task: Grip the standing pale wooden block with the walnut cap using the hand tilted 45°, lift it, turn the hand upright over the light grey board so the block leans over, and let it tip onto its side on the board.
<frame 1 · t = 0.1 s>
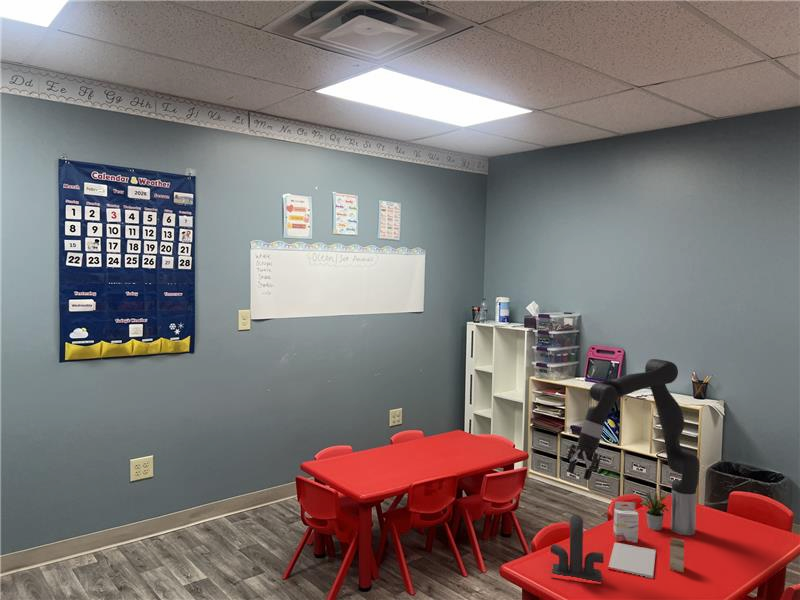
hand: (578, 475, 226), 31 cm above the table, tool tilted 20°, fingers open, 8 cm apart
wooden block: (676, 568, 219), on the table
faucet: (576, 571, 217), on the table
ink cartridge box: (625, 540, 243), on the table
house plant: (651, 528, 254), on the table
grey board: (632, 560, 225), on the table
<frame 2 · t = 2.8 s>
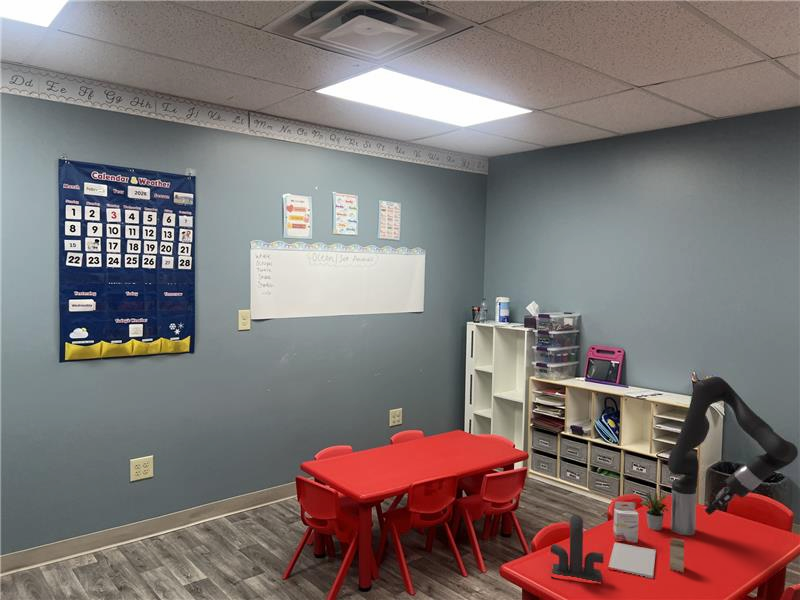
hand: (708, 509, 213), 24 cm above the table, tool tilted 40°, fingers open, 8 cm apart
nothing on the table moved.
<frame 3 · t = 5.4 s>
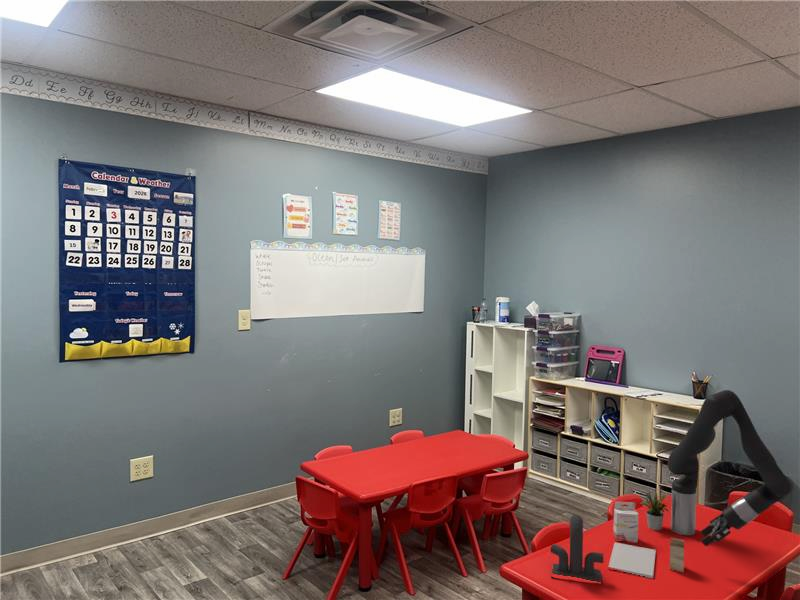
hand: (703, 538, 215), 13 cm above the table, tool tilted 45°, fingers open, 8 cm apart
nothing on the table moved.
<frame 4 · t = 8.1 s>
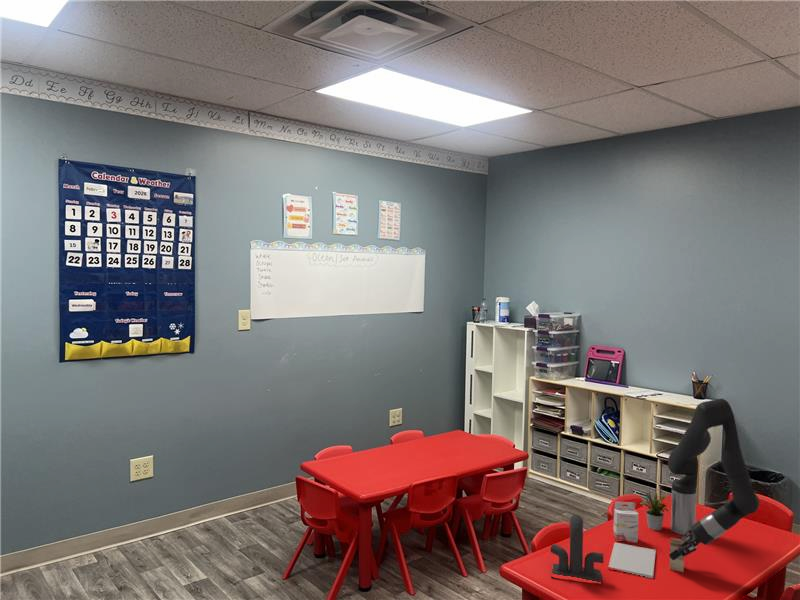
hand: (671, 554, 220), 5 cm above the table, tool tilted 45°, fingers closed on wooden block, 4 cm apart
wooden block: (676, 568, 219), on the table, touching gripper
everything else where it was.
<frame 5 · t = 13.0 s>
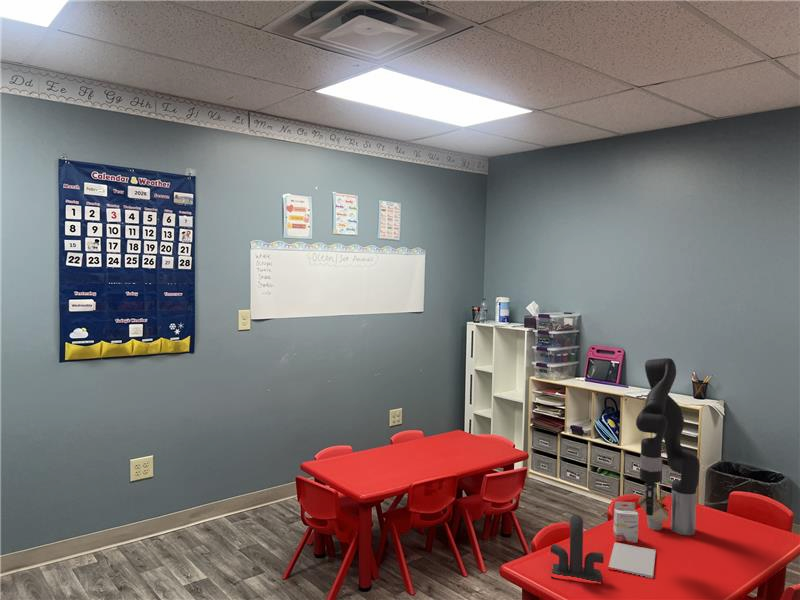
hand: (649, 512, 222), 19 cm above the table, tool pointing down, fingers closed on wooden block, 4 cm apart
wooden block: (663, 519, 220), point 17 cm above the table, tilted 45°, touching gripper
everything else where it was.
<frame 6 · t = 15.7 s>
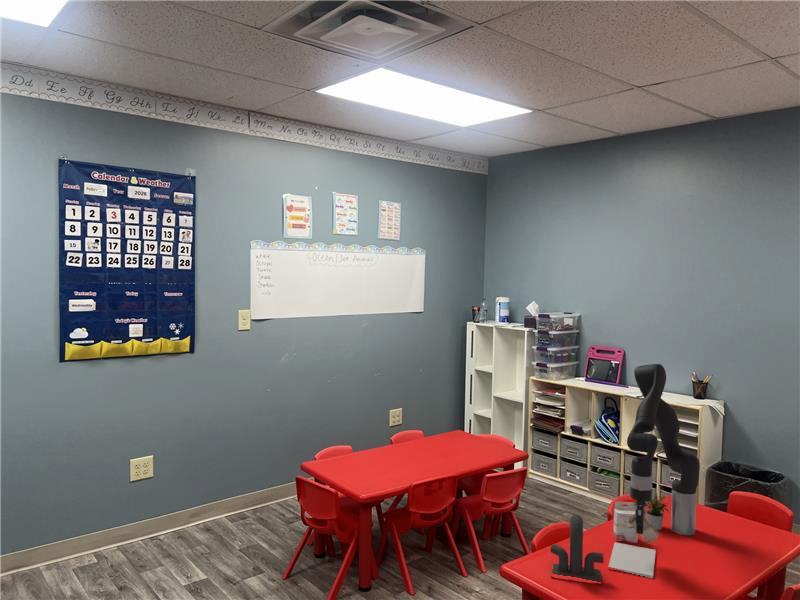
hand: (640, 530, 224), 12 cm above the table, tool pointing down, fingers closed on wooden block, 4 cm apart
wooden block: (653, 538, 222), point 10 cm above the table, tilted 45°, touching gripper
everything else where it was.
when the fingers open (6 cm above the table, at t = 17.9 s): wooden block moves 2 cm and tips over, resting on grey board.
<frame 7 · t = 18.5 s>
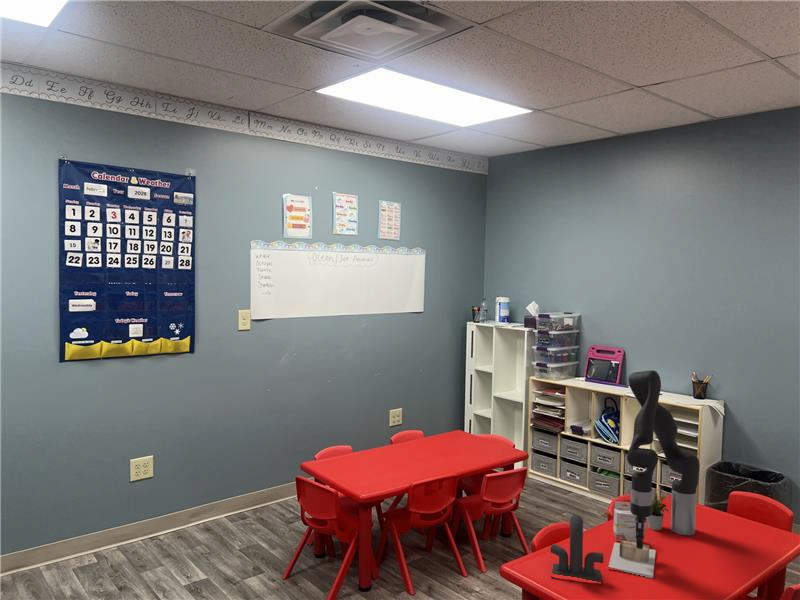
hand: (640, 543, 224), 7 cm above the table, tool pointing down, fingers open, 8 cm apart
wooden block: (648, 553, 223), point 3 cm above the table, tilted 90°, touching grey board
everything else where it was.
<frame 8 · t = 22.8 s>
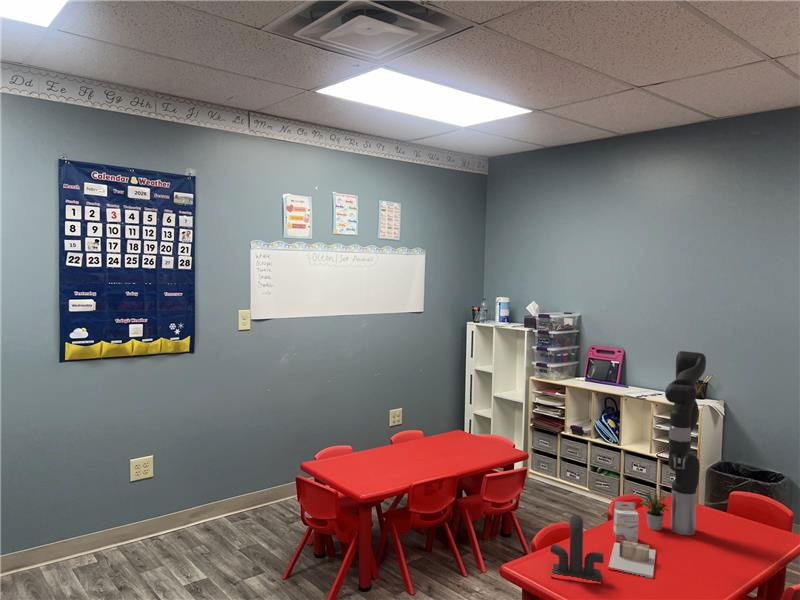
hand: (678, 480, 225), 30 cm above the table, tool pointing down, fingers open, 8 cm apart
nothing on the table moved.
at the end: wooden block tilted 90°; wooden block inside the target area (3.4 cm from its centre), point 3.2 cm above the table; the gripper is holding nothing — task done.
